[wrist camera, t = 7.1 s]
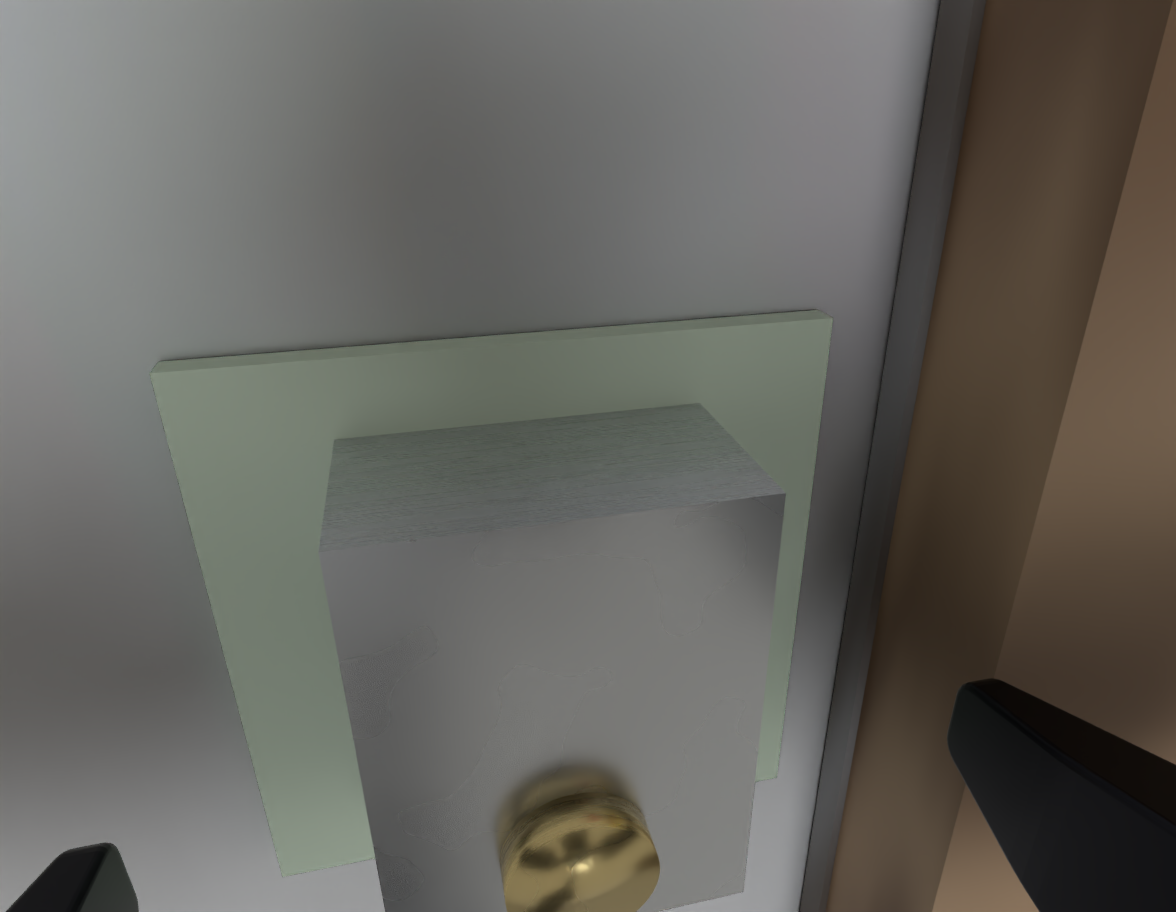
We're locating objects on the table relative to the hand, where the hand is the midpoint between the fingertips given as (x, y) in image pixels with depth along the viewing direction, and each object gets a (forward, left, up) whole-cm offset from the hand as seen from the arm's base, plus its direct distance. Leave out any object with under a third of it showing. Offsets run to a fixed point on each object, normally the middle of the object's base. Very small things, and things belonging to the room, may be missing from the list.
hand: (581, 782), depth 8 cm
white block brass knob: (0, 0, -3) cm, 3 cm away
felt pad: (0, 0, -3) cm, 3 cm away
